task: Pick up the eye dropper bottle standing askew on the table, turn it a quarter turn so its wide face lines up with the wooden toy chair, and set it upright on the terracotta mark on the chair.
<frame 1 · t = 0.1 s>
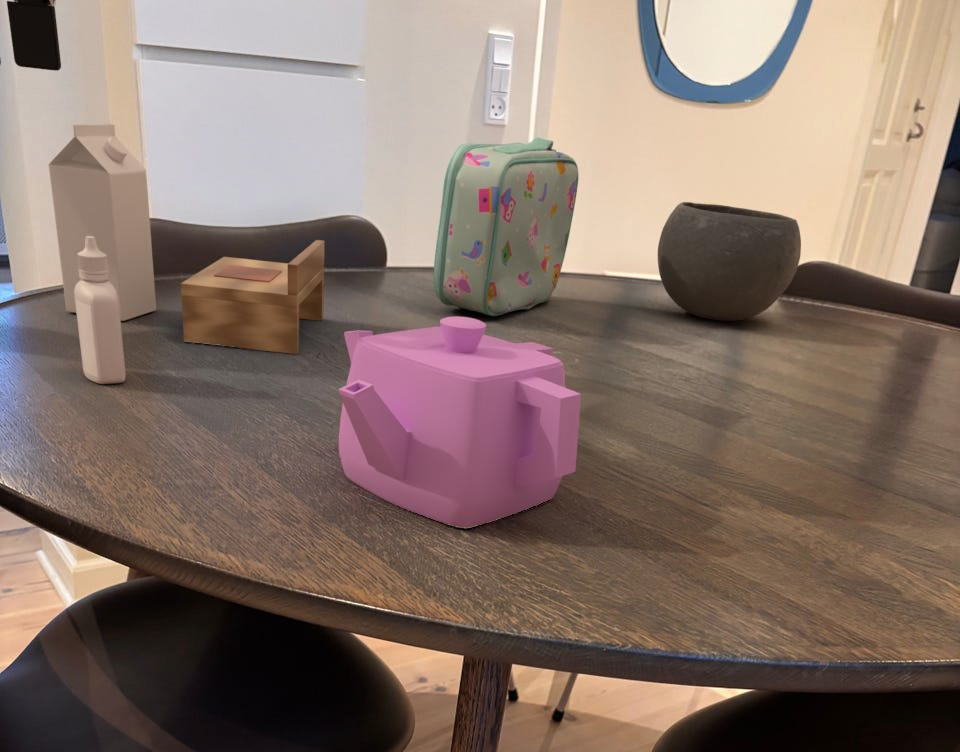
hand: (8, 66, 65), 24 cm above the table, tool pointing down, fingers open, 9 cm apart
bowl: (713, 318, 142), on the table
wooden toy chair: (258, 329, 107), on the table
milk carton: (112, 314, 107), on the table
teakettle: (439, 488, 71), on the table
eye dropper bottle: (105, 378, 86), on the table
lunch box: (499, 307, 133), on the table
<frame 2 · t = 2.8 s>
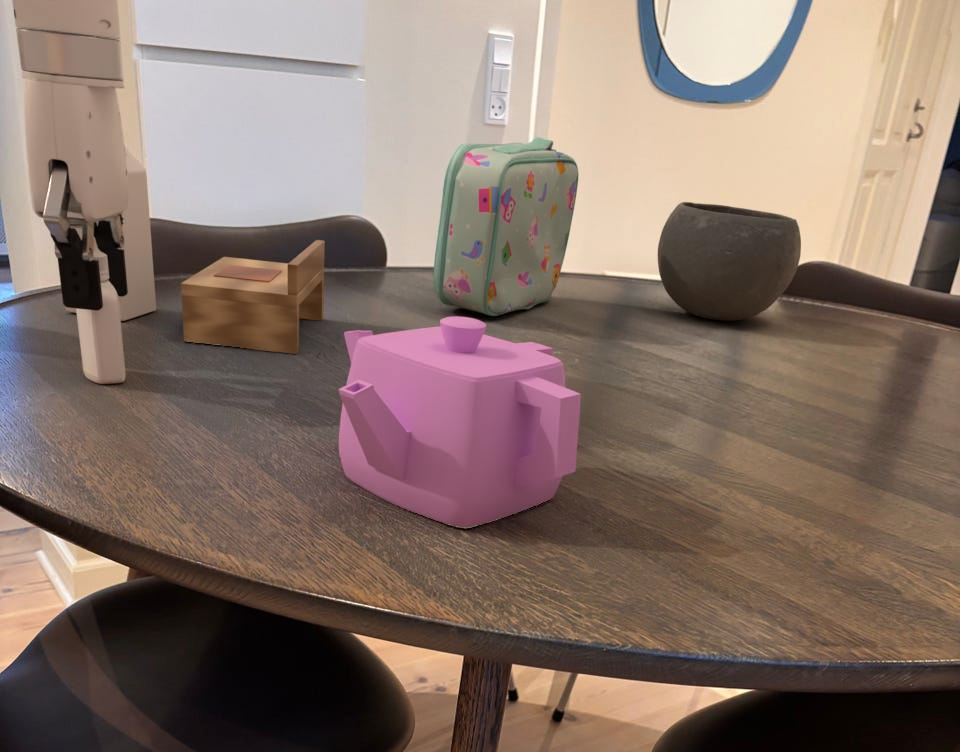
hand: (96, 299, 83), 7 cm above the table, tool pointing down, fingers closed on eye dropper bottle, 5 cm apart
eye dropper bottle: (105, 378, 86), on the table, touching gripper
everything else where it was.
when the fingers open (13 cm above the table, at t = 9.9 s): eye dropper bottle stays where it is, resting on wooden toy chair.
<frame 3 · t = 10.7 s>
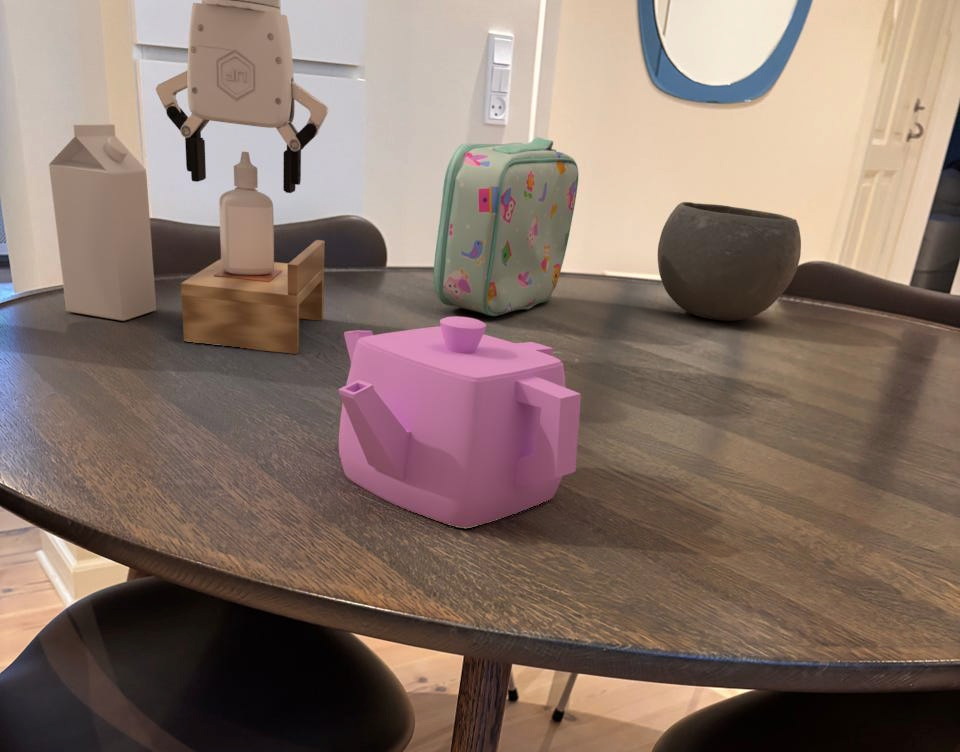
hand: (244, 186, 99), 15 cm above the table, tool pointing down, fingers open, 9 cm apart
eye dropper bottle: (248, 274, 104), point 6 cm above the table, touching wooden toy chair
everything else where it was.
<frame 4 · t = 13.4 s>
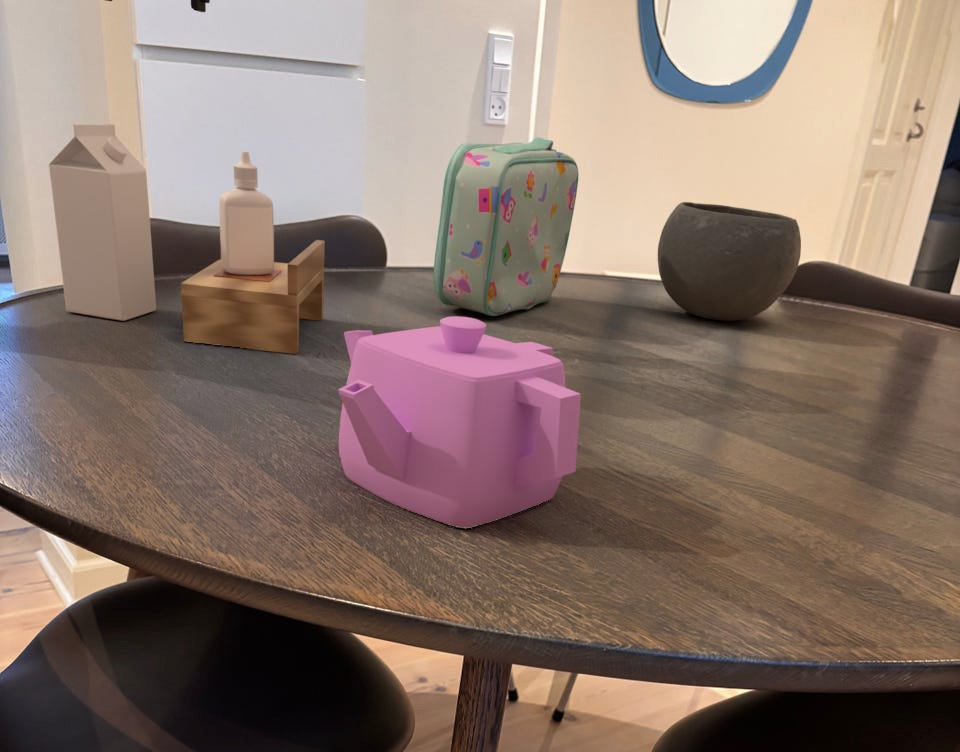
hand: (152, 5, 97), 30 cm above the table, tool pointing down, fingers open, 9 cm apart
nothing on the table moved.
at the end: eye dropper bottle inside the target area on the wooden toy chair (0.1 cm from its centre), point 5.9 cm above the wooden toy chair's base; eye dropper bottle tilted 0°; the gripper is holding nothing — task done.
